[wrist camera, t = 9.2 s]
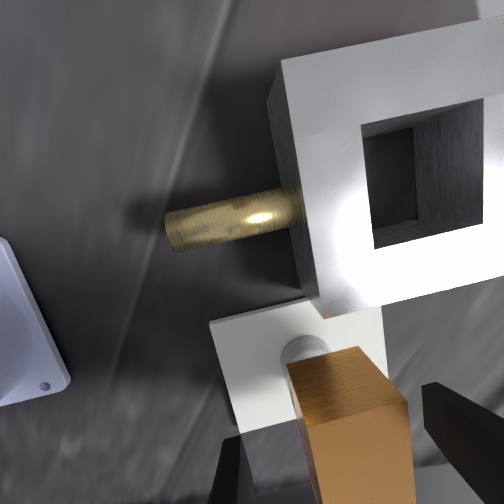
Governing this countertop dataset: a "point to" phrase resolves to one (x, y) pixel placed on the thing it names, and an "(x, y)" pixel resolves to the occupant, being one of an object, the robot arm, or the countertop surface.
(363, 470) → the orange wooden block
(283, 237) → the countertop surface
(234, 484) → the robot arm
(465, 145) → the hollow block with rod
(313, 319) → the mat
